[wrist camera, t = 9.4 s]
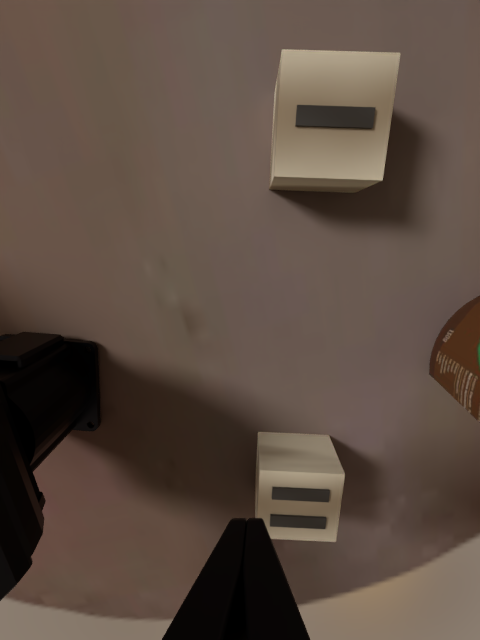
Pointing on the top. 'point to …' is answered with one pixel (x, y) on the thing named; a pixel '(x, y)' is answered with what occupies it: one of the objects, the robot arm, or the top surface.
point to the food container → (460, 357)
